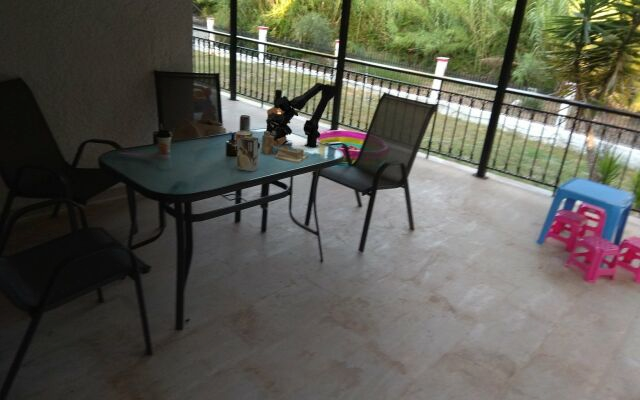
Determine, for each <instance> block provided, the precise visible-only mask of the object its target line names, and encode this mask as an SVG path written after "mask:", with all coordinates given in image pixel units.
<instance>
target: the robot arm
mask: <svg viewBox="0 0 640 400" xmlns="http://www.w3.org/2000/svg"><path fill="white" fill-rule="evenodd" d="M320 92H321V98H320V100H319V102H318V104H317V106H316V108H315V109H314V112H313V114H312V116H311V118H310V119H306V120H305V122H304V124H303V127H302V129H303V132H304V135H305V136H307V137H306V144H304V146H305V147H307V148H312V149H314V148H317V147H319V144H317V142H318V139H319V138H320V137H321V136H322V135H321V133H320V131H319V129H320V128H319V127H320V126H319V122H320V120H321V118H322V116H323V114H324V112H325V110H326V108H327V106H328V104H329V102H330V101H331V100H332V99H333V98H334V97H335V96H336V95H337V92H338V89H337V87H336V85H333V84H328V83H326V84H325V83H321V82H316V83H315V84H314V85H313V86H312V87H310V88H309V89H308V90H307V91H305V92H304V93H303V94H301V95H297V96H295V97H294V98H292V99H290V100H289V99H288V97H287V96H285V95H283V96H281V98H279V99H278V100H277V101H276V104H277V106H278V107H279V108H280V109H281V111H284V113H283V114H280V113H279V114H276V113H273V112H272V113H271V115H270V118H268V119H267V118H266V120H265V122H266V129H265V131H268V132H270V133H271V132H272V131H273V130H275V129H274V128H276V127H278V128H280V129H279V132H278V133H277V135H276V136H275V138H274V140H277V139H279V138H281V137H284V136H286V137H287V136H289V135H291V134H293V130H292V128H291V127H290V126H289V125H288V124H291V123H292V122H291V120H292V119H293V118H294V117H299V111H301V110H303V109H304V108H305V107H306V105H307V103H308V102H309V101H311V99H313V98H314V97H315V96H317V95H318V94H319V93H320ZM271 118H273V119H275V120H273V119H271Z"/></svg>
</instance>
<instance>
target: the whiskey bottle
mask: <svg viewBox="0 0 640 400" xmlns="http://www.w3.org/2000/svg"><path fill="white" fill-rule="evenodd" d="M282 93H283V92H282V90H281V89H275V92H274V99H273V107H270V108H269V109H267V110H266V114H267V118H266V120H267V119H268V118H270V115H271V113H272V112H273V113H276V114H279V113H280V114H283V113H284V111H281V109H280V108H279V107H278V106H277V104H276V101H277V100H278V99H279V98H281V97H282ZM271 119H273V118H271ZM273 120H275V119H273ZM274 129H275V130H273V131H272V132H271V133H270V135H271V136H274V138H275V136H276V135H277V133H278V132H279V129H280V128H278V127H276V128H274ZM285 141H288V140H287V135H286V136H284V137H281V138H279V139H277V140H273V146H277V147H279V146H281V145H282V144H283V143H284V142H285ZM283 145H284V144H283Z"/></svg>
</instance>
